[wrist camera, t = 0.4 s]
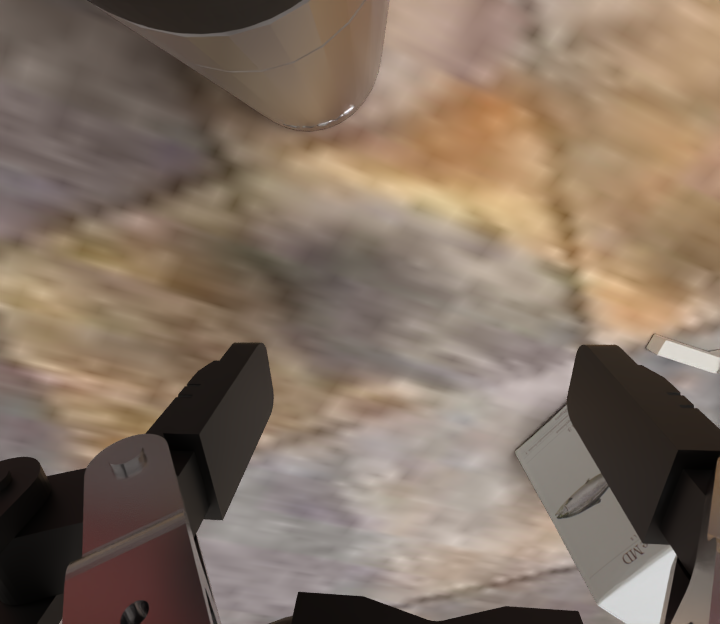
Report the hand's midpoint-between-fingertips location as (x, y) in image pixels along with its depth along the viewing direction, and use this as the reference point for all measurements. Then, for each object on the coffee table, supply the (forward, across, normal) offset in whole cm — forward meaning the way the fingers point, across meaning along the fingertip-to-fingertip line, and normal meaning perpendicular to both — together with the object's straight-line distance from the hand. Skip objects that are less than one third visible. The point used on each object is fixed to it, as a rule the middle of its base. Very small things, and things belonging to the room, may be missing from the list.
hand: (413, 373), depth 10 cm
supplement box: (+18, -14, +18) cm, 29 cm away
